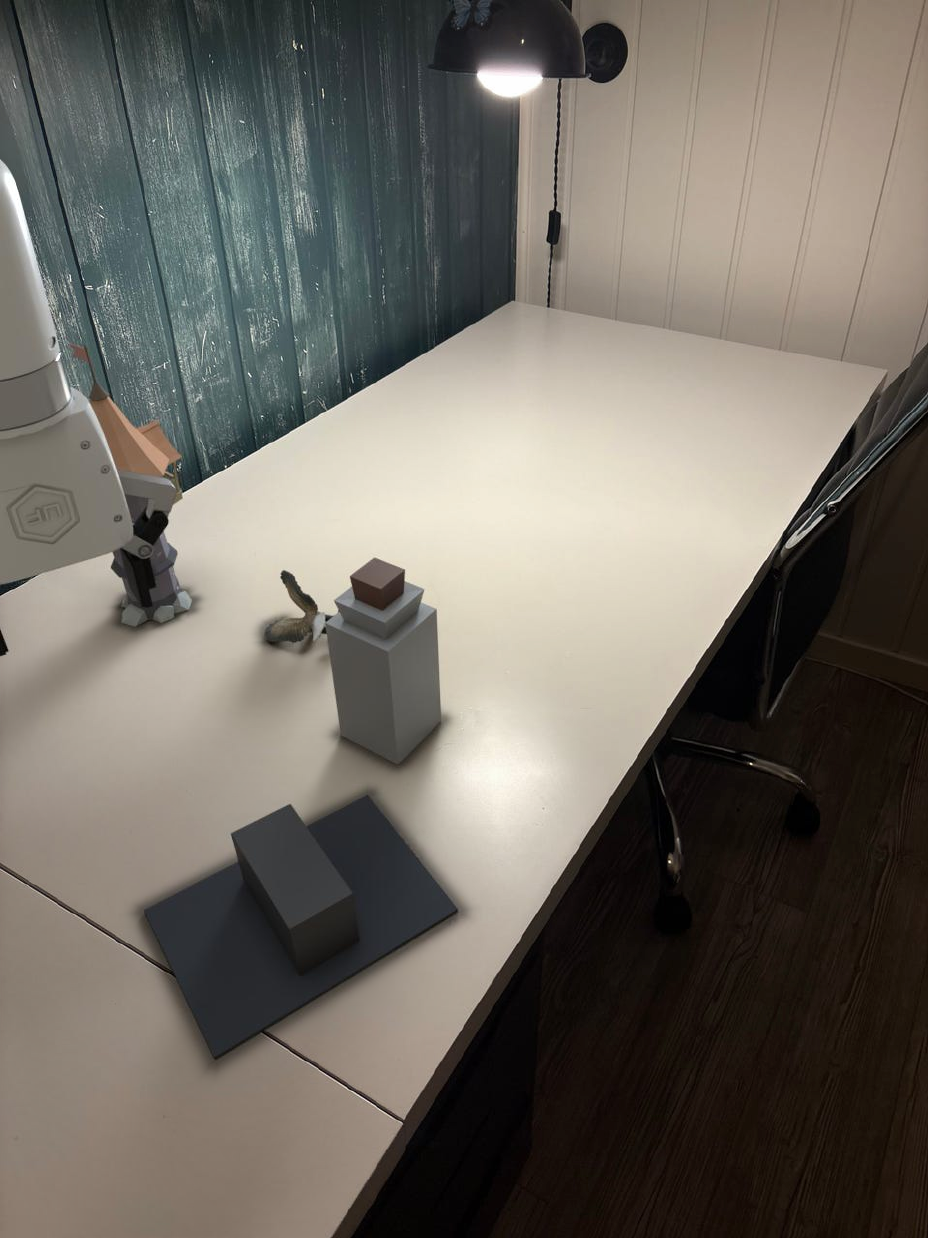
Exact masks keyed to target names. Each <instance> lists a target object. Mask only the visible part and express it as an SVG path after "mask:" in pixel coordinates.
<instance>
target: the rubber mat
mask: <svg viewBox="0 0 928 1238" xmlns="http://www.w3.org/2000/svg"><path fill="white" fill-rule="evenodd" d="M306 827H307V828H308V830H309V831H310V833H311V834H312V835H313V837H314V838H315V840H316V841H317V843H318V844H319V845H320V847H321V848H322V850H323V851H324V853H325V854H326V856H327V857H328V858H329V860H330V861H331V863H332V864H333V866H334V867H335V868H336V870H337V871H338V873H339V874H340V876H341V877H342V879H343V880H344V881H345V883H346V884H347V886H348V887H349V889H350V890H351V891H352V893H353V898H354V905H355V911H356V918H357V924H358V931H359V938H360V941H358V942H357V943H355V944H353V945H352V946H350V947H348V948H347V949H345V950H343V951H342V952H340V953H338V954H337V955H335V956H333V957H331V958H330V959H328V960H326V961H325V962H323V963H321V964H320V965H318V966H316V967H315V968H313V969H311V970H310V971H308V972H306V973H304V974H303V975H301V976H300V975H299V973H298V972H297V970H296V968H295V967H294V965H293V963H292V961H291V960H290V958H289V956H288V955H287V953H286V951H285V950H284V948H283V946H282V945H281V943H280V941H279V940H278V938H277V936H276V935H275V933H274V931H273V929H272V928H271V926H270V924H269V923H268V921H267V919H266V918H265V916H264V914H263V913H262V911H261V909H260V908H259V906H258V904H257V902H256V901H255V899H254V897H253V896H252V894H251V892H250V891H249V889H248V887H247V886H246V884H245V882H244V880H243V876H242V873H241V869H240V866H239V862H238V861H236V862H234V863H233V864H231V865H229V866H226V867H224V868H222V869H221V870H219V871H216V872H215V873H213V874H211V875H209V876H207V877H205V878H203V879H201V880H199V881H197V882H195V883H194V884H191V885H189V886H187V887H186V888H184V889H182V890H180V891H177V892H176V893H174V894H172V895H170V896H168V897H166V898H164V899H163V900H160V901H158V902H156V903H155V904H153V905H151V906H149V907H146V908H145V909H143V912H144V914H145V916H146V919H147V920H148V923H149V924H150V926H151V929H152V931H153V933H154V935H155V937H156V939H157V941H158V943H159V945H160V947H161V949H162V953H163V954H164V956H165V958H166V960H167V963H168V965H169V966H170V968H171V971H172V972H173V973H172V974H173V975H174V977H175V980H176V981H177V983H178V985H179V987H180V990H181V991H182V994H183V996H184V998H185V1000H186V1002H187V1004H188V1006H189V1008H190V1010H191V1013H192V1014H193V1016H194V1019H195V1021H196V1023H197V1025H198V1027H199V1029H200V1031H201V1033H202V1035H203V1037H204V1039H205V1042H206V1044H207V1046H208V1048H209V1050H210V1052H211V1054H212V1057H213V1058H214V1060H217V1059H218V1058H220V1057H222V1056H223V1055H225V1054H227V1053H228V1052H230V1051H232V1050H234V1049H235V1048H236V1047H238V1046H240V1045H241V1044H243V1043H245V1042H246V1041H248V1040H249V1039H251V1038H253V1037H254V1036H256V1035H258V1034H260V1033H261V1032H263V1031H264V1030H266V1029H268V1028H269V1027H271V1026H272V1025H274V1024H276V1023H278V1022H279V1021H281V1020H283V1019H284V1018H285V1017H287V1016H289V1015H291V1014H293V1013H294V1012H296V1011H297V1010H299V1009H300V1008H302V1007H304V1006H305V1005H307V1004H309V1003H310V1002H312V1001H314V1000H315V999H317V998H318V997H320V996H321V995H323V994H325V993H326V992H328V991H330V990H331V989H333V988H335V987H337V986H338V985H340V984H342V983H343V982H345V981H346V980H348V979H349V978H351V977H353V976H355V975H356V974H358V973H359V972H361V971H363V970H365V969H366V968H368V967H370V966H371V965H372V964H375V963H376V962H377V961H379V960H381V959H383V958H384V957H386V956H387V955H389V954H390V953H392V952H394V951H395V950H397V949H399V948H400V947H402V946H403V945H406V944H407V943H409V942H410V941H412V940H414V939H415V938H417V937H419V936H420V935H422V934H423V933H425V932H426V931H429V930H430V929H431V928H433V927H435V926H437V925H438V924H439V923H441V922H443V921H445V920H446V919H448V918H450V917H451V916H453V915H455V914H456V913H458V912H459V908H458V907H457V906H456V905H455V903H454V902H453V901H452V899H451V898H450V897H449V896H448V895H447V893H446V892H445V890H444V889H443V888H442V887H441V885H439V882H438V881H436V879H435V878H434V877H433V876H432V874H431V873H430V872H429V870H428V869H427V868H426V867H425V865H424V864H423V863H422V862H421V860H420V859H419V858H418V856H417V855H416V854H415V853H414V851H413V850H412V848H410V846H409V845H408V844H407V842H406V841H405V839H403V837H402V836H401V835H400V834H399V832H398V831H397V830H396V829H395V827H394V826H393V825H392V824H391V822H390V821H389V820H388V818H387V817H386V816H385V815H384V814H383V812H382V811H381V810H380V808H379V807H378V805H376V803H375V802H374V801H373V799H371V797H370V796H369V794H366V795H364V796H362V797H360V798H358V799H357V800H355V801H353V802H351V803H348V804H346V805H345V806H343V807H341V808H339V809H337V810H335V811H333V812H331V813H329V814H327V815H325V816H323V817H322V818H320V819H318V820H316V821H313V822H312V823H310V824H308V825H306Z"/></svg>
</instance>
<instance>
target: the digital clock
mask: <svg viewBox="0 0 928 1238" xmlns="http://www.w3.org/2000/svg"><path fill="white" fill-rule="evenodd" d="M306 826H307V825H306V824H305V823H304V820H302V818H301V817H300V815H299V814H298V812H297V810H296V809H295V808H294V806H293V805H292V804H291V803H288V804H287V805H284V806H283V807H281V808H278V809H277V810H275V811H272V812H271V813H269V814H266V815H263V816H262V817H260V818H258V819H257V820H254V821H253V822H251V823H248V824H245V826H243V827H241V828H238V829H237V830H235V831H232V832H231V833H230V837H231V840H232V843H233V848H234V850H235V854H236V855H235V856H236V858H237V862H239V866H240V869H241V873H242V876H243V880H244V882H245V884H246V886H247V887H248V889H249V891H250V892H251V894H252V896H253V897H254V899H255V901H256V902H257V904H258V906H259V908H260V909H261V911H262V913H263V914H264V916H265V918H266V919H267V921H268V923H269V924H270V926H271V928H272V929H273V931H274V933H275V935H276V936H277V938H278V940H279V941H280V943H281V945H282V946H283V948H284V950H285V951H286V953H287V955H288V956H289V958H290V960H291V961H292V963H293V965H294V967H295V968H296V970H297V972H298V973H299V975H300V976H301V975H303V974H304V973H306V972H308V971H310V970H311V969H313V968H315V967H316V966H318V965H320V964H321V963H323V962H325V961H326V960H328V959H330V958H331V957H333V956H335V955H337V954H338V953H340V952H342V951H343V950H345V949H347V948H348V947H350V946H352V945H353V944H355V943H357V942H358V941H360V938H359V931H358V924H357V918H356V911H355V905H354V898H353V893H352V891H351V890H350V889H349V887H348V886H347V884H346V883H345V881H344V880H343V879H342V877H341V876H340V874H339V873H338V871H337V870H336V868H335V867H334V866H333V864H332V863H331V861H330V860H329V858H328V857H327V856H326V854H325V853H324V851H323V850H322V848H321V847H320V845H319V844H318V843H317V841H316V840H315V838H314V837H313V835H312V834H311V833H310V831H309V830H308V828H307V827H306Z"/></svg>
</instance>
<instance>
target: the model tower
mask: <svg viewBox="0 0 928 1238" xmlns="http://www.w3.org/2000/svg"><path fill="white" fill-rule="evenodd" d="M68 344H69V346H70V347H71V348H72V350H73V354H72V358H75V359H78V360H81V361H84V362H87V363H88V366H89V369H90V374H91V378H92V381H93V384H92V387H91V390H90V393H89V395H88V400H89V403H90V405H91V406H92V409H93V411H94V413H95V415H96V417H97V419H98V421H99V424H100V426H101V428H102V430H103V433H104V435H105V438H106V441H107V444H108V446H109V449H110V452H111V455H112V458H113V460H114V463H115V466H116V469H118V470H124V471H129V472H135V473H140V474H146V475H152V476H157V477H163V478H167V479H169V480H170V481H171V483H172V484H173V485H174V486H175V488H176V489H177V494H176V497H175V500H174V503H173V506H174V505H175V504H177V503H178V502H180V501H181V500H183V499H184V498H183V492H182V489H181V487H180V483H179V476H178V473H177V465H178V464H177V461H178V460H179V459H181V458H183V456H182V455H181V454H180V453H179V452H178V451H177V450H176V449H175V446H173V445H172V444H171V442H170V441H169V440H168V438H167V436H166V434H165V432H164V431H163V429H162V427H161V425H160V423H159V420H158V419H155V420H153V421H151V422H149V423H147V424H144V425H142V426H138V427H135V426H134V425H133V424H132V423H131V422H130V421H129V420H128V418H127V417H126V416H125V415H124V414H123V412H122V411H121V410H120V408H119V407H118V406H117V405H116V404H115V403H114V401H113V400H112V398H111V397H110V393H109V392H108V391H107V390H106V389H104V388H103V387H102V386H101V384H100V383H98V380H97V377H96V374H95V371H94V367H93V363H92V361H91V360H92V359H91V357H90V354H89V349H88V346H87V344H86V343H84V345H83V346H84V347H82V346H79V345H77V344H74V343H71V342H68ZM170 465H171V466H172V471H173V472H172V473H173V474H172V473H170V472H169V471H166V470H167V468H168V466H170ZM125 498H126V502H127V505H128V508H129V512H130V516H131V520H132V523H135V522H136V520H137V519H138V517H139V516H140V515H141V513H142V512H143V510H144V509H145V508H146V507H147V506H148V500H149V499H148V498H142V497H136V496H129V495H125ZM153 548H154V553H153V554H152V556H150V561H151V565H152V570H153V574H154V578H155V582H156V588H153V589H150V590H149V592H150V596H151V600H152V604H153V606H152V607H149V608H146V609H145V607H143V608H142V607H141V606H140V604H139V602H138V601H137V599H136V597H135V596H134V594H133V593H132V591H131V589H130V587H129V583H128V579H127V576H126V572H125V568H124V564H123V560H122V556H121V552H120V549H118V550H116V551H114V552H112V556H113V557H114V558H113V560H112V563H111V565H110V569H111V571H112V572H113V573H114V574H115V575H116V576H117V577H118V578H119V579H121V580H122V583H123V586H124V590H125V593H126V594H125V595H124V597H123V598H122V602H121V606H120V607H121V608H124V610H122V612H121V624H123V625H128V626H131V627H135V628H136V627H138V626H140V625H141V624H143V623H145V622H147V621H156V622H158V623H160V624H163V623H165V622H167V621H170V620H173V619H175V615H176V614H179V613H183V612H186V611H189V610H190V607H191V604H192V602H193V600H192V598H191V597H190V596H189V594H188V592H187V591H186V590H182V588H181V585H180V582H179V580H178V578H177V576H176V571H175V567H174V566H175V563H176V560H177V558H178V554H179V553H178V550H177V549H176V548H175V547H174V546H173V545H171V544H170V543H169V542H168V540H167V537H166V534H165V530H164V531H163V533H162V534H161V535H160V537H159V538H158V540H157V541H156V543H155V544H154V545H153Z"/></svg>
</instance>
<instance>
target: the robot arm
mask: <svg viewBox="0 0 928 1238" xmlns="http://www.w3.org/2000/svg"><path fill="white" fill-rule="evenodd" d="M46 294H47V293H46V290H45V286H44V283H43V279H42V275H41V271H40V267H39V264H38V260H37V256H36V253H35V249H34V244H33V241H32V237H31V233H30V229H29V225H28V223H27V218H26V215H25V211H24V208H23V203H22V199H21V196H20V193H19V189H18V187H17V184H16V180H15V178H14V176H13V174H12V172H11V170H10V169H9V167H8V166H7V165H6V163H5V162H3V160H2V159H0V586H1V585H6V584H10V583H13V582H17V581H20V580H24V579H28V578H31V577H34V576H39V575H42V574H45V573H48V572H51V571H55V570H59V569H63V568H65V567H69V566H73V565H76V564H79V563H82V562H86V561H89V560H92V559H96V558H98V557H102V556H105V555H107V554H108V555H109V554H111V553H113V552H114V551H116V550H118V549H120V552H121V556H122V560H123V564H124V568H125V572H126V576H127V579H128V583H129V587H130V589H131V591H132V593H133V594H134V596H135V597H136V599H137V601H138V602H139V604H140V606H141V607H142V608H143V607H145V609H146V608H149V607H152V606H153V604H152V600H151V596H150V592H149V590H150V589H153V588H156V582H155V578H154V574H153V570H152V565H151V561H150V556H152V554H153V553H154V548H153V545H154V544H155V543H156V541H157V540H158V538H159V537H160V535H161V534H162V533H163V531H164V532H165V530H166V528H167V526H168V525H169V523H170V522H169V521H170V520H169V517H170V516H169V515H170V513H172V509H173V506H174V505H173V503H174V500H175V497H176V494H177V489H176V488H175V486H174V485H173V484H172V483H171V481H170V480H169V479H168V478H164V476H163V477H157V476H152V475H146V474H140V473H135V472H129V471H124V470H118V469H116V466H115V463H114V460H113V458H112V455H111V452H110V449H109V446H108V444H107V441H106V438H105V435H104V433H103V430H102V428H101V426H100V424H99V421H98V419H97V417H96V415H95V413H94V411H93V409H92V406H91V405H90V400H89V398H87V397H86V396H85V395H84V394H83V393H82V392H81V391H80V390H78V389H76V388H75V387H72V386H71V384H70V381H69V377H68V374H67V369H66V365H65V362H64V359H63V355H62V350H61V347H60V343H59V340H58V336H57V333H56V328H55V326H54V321H53V318H52V314H51V310H50V306H49V301H48V299H47V295H46ZM125 495H129V496H136V497H142V498H148V499H149V500H148V506H147V507H146V508H145V509H144V510H143V512H142V513H141V515H140V516H139V517H138V519H137V520H136V522H135V523H132V520H131V516H130V512H129V508H128V505H127V502H126V498H125ZM8 652H10V651H9V647H8V645H7V642H6V640H5V637H4V635H3V633H2V629H1V628H0V657H3V656H6V655H7V653H8Z"/></svg>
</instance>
